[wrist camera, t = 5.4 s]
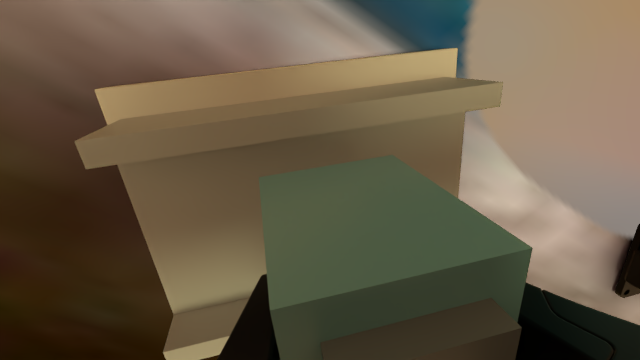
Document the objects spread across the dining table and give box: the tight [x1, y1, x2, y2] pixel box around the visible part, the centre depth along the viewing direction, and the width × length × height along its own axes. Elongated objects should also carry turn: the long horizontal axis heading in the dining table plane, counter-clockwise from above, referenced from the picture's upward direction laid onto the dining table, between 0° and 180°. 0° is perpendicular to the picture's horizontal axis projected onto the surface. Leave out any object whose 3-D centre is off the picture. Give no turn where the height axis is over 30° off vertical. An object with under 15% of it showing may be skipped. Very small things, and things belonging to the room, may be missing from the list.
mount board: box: [74, 48, 503, 360], centre depth 13 cm, size 14×11×4 cm
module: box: [259, 155, 532, 360], centre depth 8 cm, size 6×4×6 cm, turn 5°
